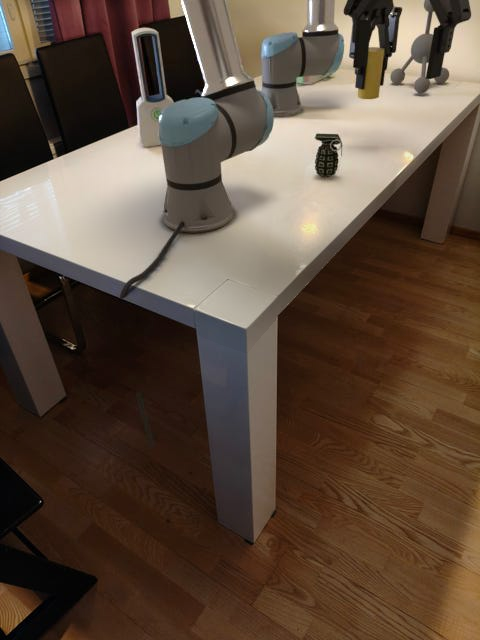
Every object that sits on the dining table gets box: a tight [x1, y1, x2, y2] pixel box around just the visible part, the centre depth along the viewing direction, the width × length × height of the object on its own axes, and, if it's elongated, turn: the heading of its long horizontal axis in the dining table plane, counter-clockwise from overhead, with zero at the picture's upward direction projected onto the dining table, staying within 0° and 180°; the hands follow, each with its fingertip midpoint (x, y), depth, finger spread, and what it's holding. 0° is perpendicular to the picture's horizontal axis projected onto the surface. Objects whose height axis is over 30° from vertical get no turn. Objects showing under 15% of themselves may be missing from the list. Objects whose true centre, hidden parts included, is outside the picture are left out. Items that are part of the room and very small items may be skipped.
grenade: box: [314, 133, 343, 179], centre depth 119 cm, size 7×6×10 cm
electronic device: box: [130, 27, 175, 148], centre depth 141 cm, size 12×8×30 cm, turn 105°
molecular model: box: [390, 0, 450, 94], centre depth 178 cm, size 24×22×30 cm
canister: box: [357, 46, 384, 100], centre depth 125 cm, size 6×6×11 cm
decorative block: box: [296, 74, 330, 85], centre depth 206 cm, size 26×6×20 cm
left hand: (394, 71), depth 77 cm, fingers open, 13 cm apart
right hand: (369, 86), depth 127 cm, fingers closed on canister, 5 cm apart
